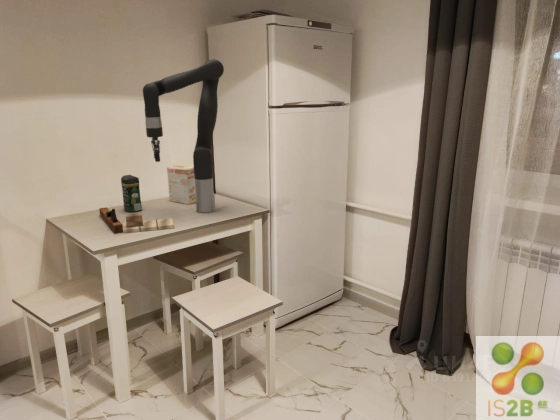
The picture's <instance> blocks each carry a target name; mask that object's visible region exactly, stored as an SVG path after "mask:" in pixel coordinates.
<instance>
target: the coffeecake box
mask: <svg viewBox="0 0 560 420" xmlns="http://www.w3.org/2000/svg"><path fill="white" fill-rule="evenodd" d="M166 170H167V171H166V172H167V173H166V174H167V183H168V194H169V195H168V197H169V198H168V199H169V202H174V203H179V204H185V205H190V204H194V203H195V204H196V194H195V177H194V166H193V167H190V166H184V165H183V166H181V165H171V166H166Z"/></svg>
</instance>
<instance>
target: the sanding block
mask: <svg viewBox="0 0 560 420" xmlns="http://www.w3.org/2000/svg"><path fill="white" fill-rule="evenodd" d="M143 221H144V220H143V213H142V212H132V213H126V214H125V223H126V225H127V227H137V226H143Z"/></svg>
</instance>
